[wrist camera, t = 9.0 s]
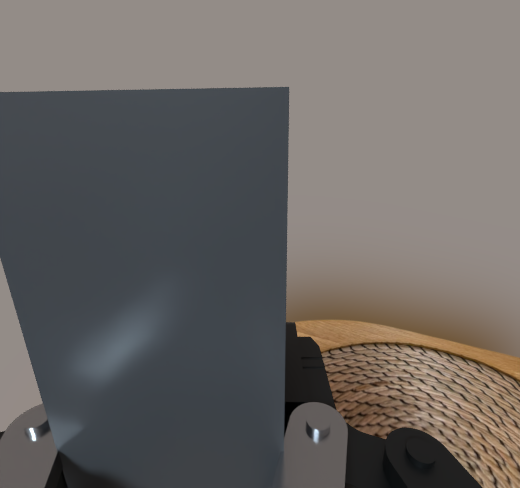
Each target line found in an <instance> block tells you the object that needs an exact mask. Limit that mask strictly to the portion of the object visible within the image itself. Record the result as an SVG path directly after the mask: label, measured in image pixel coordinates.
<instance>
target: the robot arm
mask: <svg viewBox="0 0 520 488" xmlns="http://www.w3.org/2000/svg"><path fill="white" fill-rule="evenodd" d="M62 469H63V465H62V461H61V458H60V454H59V451H58V450H57V449H56V446H55V442H54V439H53V436H52V432H51V429H50V425H49V422H48V418H47V415H46V412H45V408H44V405H43V404H41V405H38V406H36V407H33V408H31V409H29V410H28V411H26V412H24V413H23V414H21V415H20V416H19V417H17V418H16V419H15V420H14V421H13V422H12V423H11V424H10V426H8V428H7V429H6V431H4V432H0V488H68V487H67V483H66V480H65V477H64V473H63V470H62ZM271 488H482V487H481V486H480V484H479V483H478V482H477V481H476V480H475V479H474V478H473V477H472V476H471V475H470V474H469V472H468V471H467V470H466V469H465V468H464V467H463V466H462V465H461V464H460V463H459V462H458V460H457V459H456V458H455V457H454V456H453V455H452V454H451V453H450V452H449V451H448V450H447V448H446V447H445V446H444V445H443V444H441V443H440V442H439V441H438V440H437V439H435V438H434V437H432V436H431V435H429V434H427V433H425V432H423V431H420V430H417V429H413V428H399V429H396V430H394V431H392V432H391V433H390V434H389V435H388V436H387V439H382V438H379V437H376V436H372V435H369V434H366V433H363V432H360V431H358V430H356V429H354V428H353V427H351V426H350V425H349V424H347V423H346V422H345V420H344V418H343V417H342V415H341V414H340V413H339V412H338V411H337V410H336V407H335V404H334V400H333V396H332V393H331V389H330V385H329V381H328V378H327V374H326V370H325V366H324V363H323V360H322V355H321V352H320V348H319V346H318V345H317V343H316V342H315V341H314V340H313V339H312V338H311V337H297V331H296V325H295V322H286V341H285V411H284V451H281V452H280V455H279V459H278V462H277V466H276V470H275V473H274V477H273V481H272V484H271Z"/></svg>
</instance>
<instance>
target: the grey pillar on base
mask: <svg viewBox="0 0 520 488" xmlns="http://www.w3.org/2000/svg"><path fill="white" fill-rule="evenodd" d="M288 126H289V87H268V88H267V87H264V88H210V89H158V90H157V89H156V90H101V91H47V92H0V258H1V261H2V265H3V268H4V272H5V275H6V278H7V282H8V285H9V289H10V292H11V296H12V298H13V302H14V306H15V309H16V313H17V316H18V319H19V323H20V326H21V330H22V333H23V336H24V340H25V343H26V347H27V350H28V354H29V357H30V360H31V364H32V367H33V371H34V374H35V377H36V381H37V384H38V388H39V391H40V395H41V398H42V401H43V405H44V408H45V412H46V415H47V418H48V422H49V425H50V429H51V432H52V436H53V439H54V442H55V446H56V449H57V450H58V451H59V454H60V458H61V461H62V465H63V469H62V470H63V473H64V477H65V480H66V483H67V487H68V488H271V484H272V481H273V477H274V473H275V470H276V466H277V462H278V459H279V455H280V452H281V451H284V411H285V341H286V271H287V268H286V267H287V265H286V264H287V198H288V131H289V130H288V129H289V127H288Z"/></svg>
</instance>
